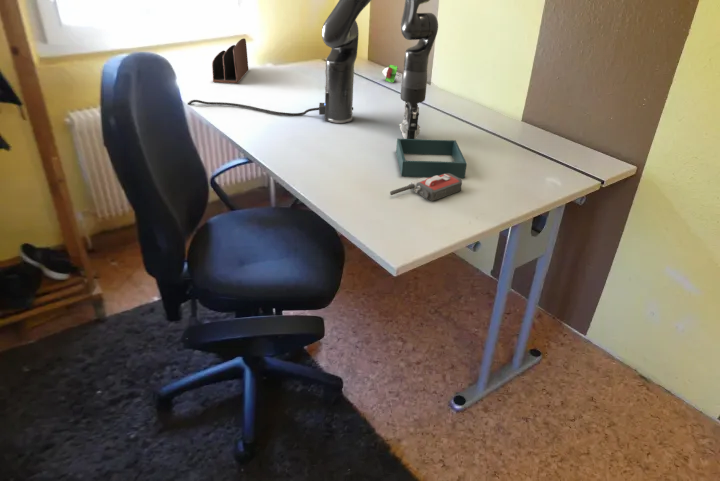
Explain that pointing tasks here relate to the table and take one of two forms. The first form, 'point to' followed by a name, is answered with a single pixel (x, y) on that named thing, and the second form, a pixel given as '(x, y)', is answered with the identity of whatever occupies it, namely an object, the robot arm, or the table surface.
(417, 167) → the open box
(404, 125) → the white rounded figurine
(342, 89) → the robot arm
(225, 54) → the letter holder
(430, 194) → the walkie-talkie
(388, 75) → the geometric puzzle
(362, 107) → the table surface
